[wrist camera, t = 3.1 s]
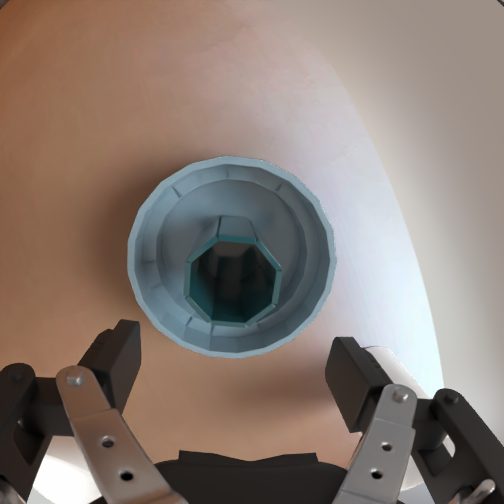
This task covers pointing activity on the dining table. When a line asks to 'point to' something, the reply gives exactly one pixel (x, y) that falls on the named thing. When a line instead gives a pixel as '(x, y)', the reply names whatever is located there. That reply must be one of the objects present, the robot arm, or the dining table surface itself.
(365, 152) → the dining table surface
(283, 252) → the glazed bowl
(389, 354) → the cup
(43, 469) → the bowl
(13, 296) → the dining table surface
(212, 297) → the teal cup
